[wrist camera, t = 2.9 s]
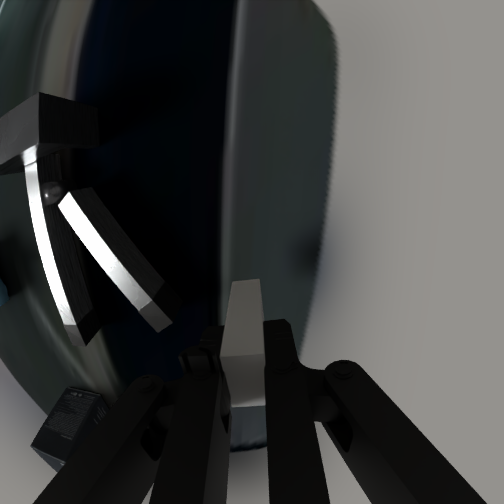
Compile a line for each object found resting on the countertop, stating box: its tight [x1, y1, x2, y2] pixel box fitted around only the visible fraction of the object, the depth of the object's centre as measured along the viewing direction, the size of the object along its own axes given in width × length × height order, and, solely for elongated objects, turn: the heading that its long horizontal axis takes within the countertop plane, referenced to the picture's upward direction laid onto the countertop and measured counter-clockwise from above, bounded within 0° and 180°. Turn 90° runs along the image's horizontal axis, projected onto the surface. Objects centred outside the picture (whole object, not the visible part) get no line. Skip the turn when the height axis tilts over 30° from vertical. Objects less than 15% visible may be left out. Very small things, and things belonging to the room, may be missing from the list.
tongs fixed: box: [25, 154, 101, 346], centre depth 17 cm, size 15×3×3 cm, turn 6°
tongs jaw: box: [58, 187, 183, 332], centre depth 17 cm, size 11×2×3 cm, turn 36°
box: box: [31, 387, 109, 472], centre depth 20 cm, size 8×6×11 cm
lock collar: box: [0, 92, 100, 175], centre depth 13 cm, size 3×7×7 cm, turn 97°
